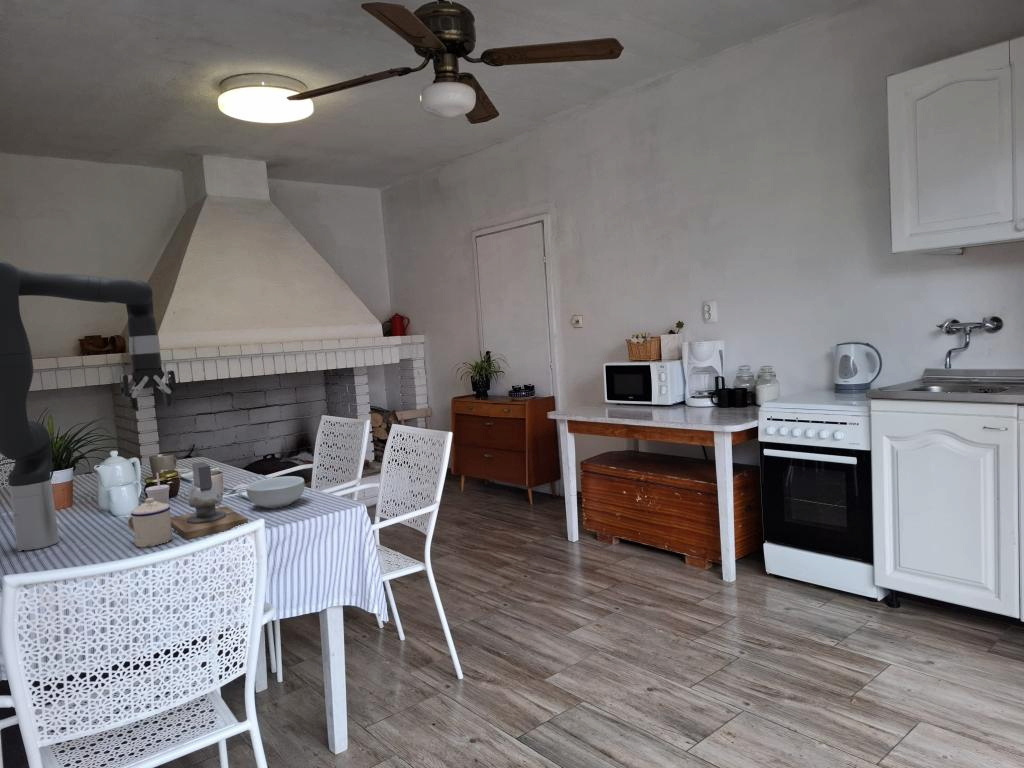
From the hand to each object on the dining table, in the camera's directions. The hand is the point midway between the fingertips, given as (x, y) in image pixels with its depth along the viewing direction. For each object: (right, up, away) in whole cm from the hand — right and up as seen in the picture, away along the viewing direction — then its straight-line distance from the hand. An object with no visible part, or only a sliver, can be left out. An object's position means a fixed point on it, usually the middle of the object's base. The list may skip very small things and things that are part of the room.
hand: (151, 409), depth 197 cm
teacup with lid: (+8, -34, -15) cm, 38 cm away
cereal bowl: (+31, -30, +15) cm, 46 cm away
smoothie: (-1, -33, +7) cm, 34 cm away
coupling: (+16, -26, -3) cm, 31 cm away
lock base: (+17, -32, -3) cm, 37 cm away
